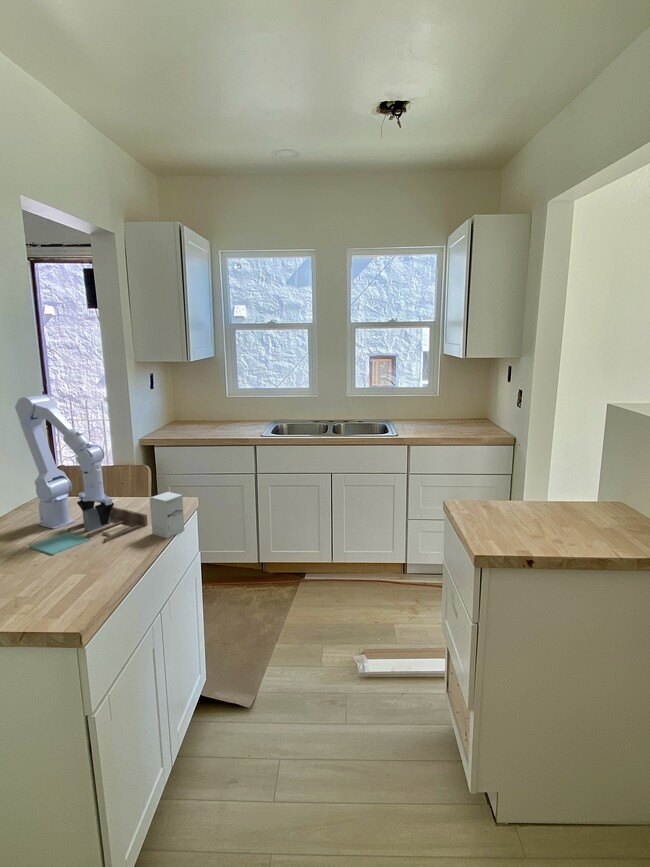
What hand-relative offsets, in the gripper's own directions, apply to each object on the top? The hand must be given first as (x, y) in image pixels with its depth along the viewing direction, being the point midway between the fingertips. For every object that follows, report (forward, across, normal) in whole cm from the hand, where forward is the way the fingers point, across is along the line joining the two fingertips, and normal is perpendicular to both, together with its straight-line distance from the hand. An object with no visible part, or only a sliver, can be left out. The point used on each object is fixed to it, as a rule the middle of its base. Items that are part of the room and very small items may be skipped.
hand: (97, 522), depth 160 cm
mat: (+2, +2, -14) cm, 14 cm away
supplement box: (+2, +24, +8) cm, 26 cm away
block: (+2, 0, 0) cm, 2 cm away
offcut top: (+2, +9, 0) cm, 9 cm away
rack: (+2, +4, 0) cm, 4 cm away
